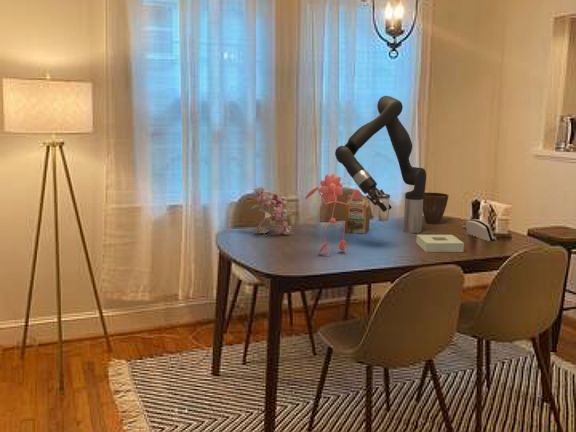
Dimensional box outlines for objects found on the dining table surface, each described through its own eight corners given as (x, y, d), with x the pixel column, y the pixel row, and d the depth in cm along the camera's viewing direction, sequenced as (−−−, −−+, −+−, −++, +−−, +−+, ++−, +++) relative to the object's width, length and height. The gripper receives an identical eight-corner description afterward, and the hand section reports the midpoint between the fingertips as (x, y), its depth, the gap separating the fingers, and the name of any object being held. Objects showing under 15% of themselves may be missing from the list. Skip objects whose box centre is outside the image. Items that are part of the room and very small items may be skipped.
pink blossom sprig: (363, 252, 261) (364, 173, 255) (312, 259, 249) (313, 177, 243) (344, 246, 275) (345, 171, 269) (295, 252, 263) (295, 173, 257)
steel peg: (377, 219, 274) (378, 193, 271) (387, 219, 274) (388, 193, 272) (379, 221, 269) (380, 195, 267) (389, 221, 269) (390, 195, 267)
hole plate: (416, 242, 281) (416, 234, 280) (451, 242, 282) (452, 234, 281) (425, 251, 264) (426, 243, 263) (463, 251, 265) (464, 243, 264)
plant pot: (441, 220, 336) (443, 192, 333) (450, 225, 322) (452, 196, 318) (416, 220, 335) (417, 192, 332) (423, 225, 321) (425, 196, 318)
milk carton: (344, 233, 301) (345, 196, 297) (349, 229, 310) (350, 193, 307) (365, 234, 297) (366, 197, 294) (369, 230, 307) (370, 194, 304)
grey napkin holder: (496, 240, 288) (492, 221, 285) (489, 244, 287) (484, 225, 284) (475, 233, 303) (471, 215, 300) (467, 236, 302) (463, 219, 299)
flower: (262, 239, 278) (284, 191, 279) (234, 226, 294) (254, 181, 295) (290, 251, 292) (310, 204, 293) (262, 238, 308) (281, 194, 309)
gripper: (363, 177, 266) (387, 207, 262) (376, 174, 277) (399, 202, 273) (352, 188, 270) (375, 217, 266) (366, 184, 281) (388, 212, 277)
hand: (387, 209), depth 270 cm, fingers closed on steel peg, 4 cm apart
